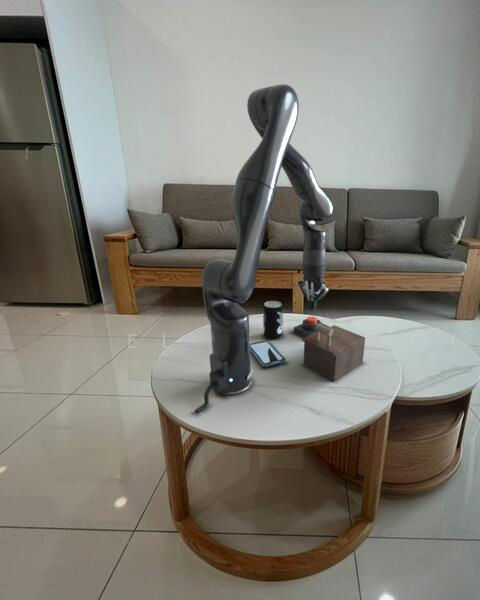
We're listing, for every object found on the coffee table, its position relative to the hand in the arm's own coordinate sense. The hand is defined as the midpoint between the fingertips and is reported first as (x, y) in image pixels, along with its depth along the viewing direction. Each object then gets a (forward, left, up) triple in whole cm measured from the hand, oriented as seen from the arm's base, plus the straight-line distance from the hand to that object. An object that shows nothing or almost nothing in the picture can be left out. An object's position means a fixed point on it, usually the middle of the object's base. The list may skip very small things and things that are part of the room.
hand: (312, 309), depth 112 cm
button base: (0, 0, -9) cm, 9 cm away
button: (0, 0, -5) cm, 5 cm away
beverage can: (-12, +7, -9) cm, 17 cm away
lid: (-12, -19, -1) cm, 22 cm away
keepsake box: (-11, -19, -9) cm, 24 cm away
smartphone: (-22, -1, -9) cm, 24 cm away
